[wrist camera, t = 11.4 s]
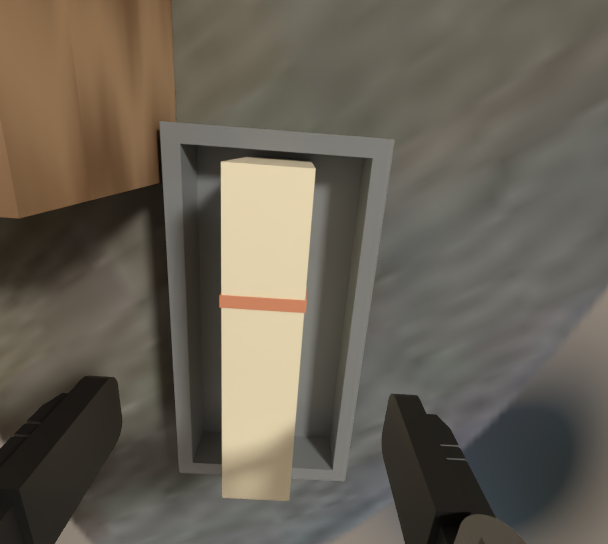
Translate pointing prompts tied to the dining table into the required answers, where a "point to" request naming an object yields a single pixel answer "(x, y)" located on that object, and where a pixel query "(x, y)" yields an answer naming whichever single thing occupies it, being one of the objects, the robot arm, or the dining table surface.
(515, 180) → the dining table surface
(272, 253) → the cream rectangular block
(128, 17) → the wooden block
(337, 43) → the dining table surface
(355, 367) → the tray
